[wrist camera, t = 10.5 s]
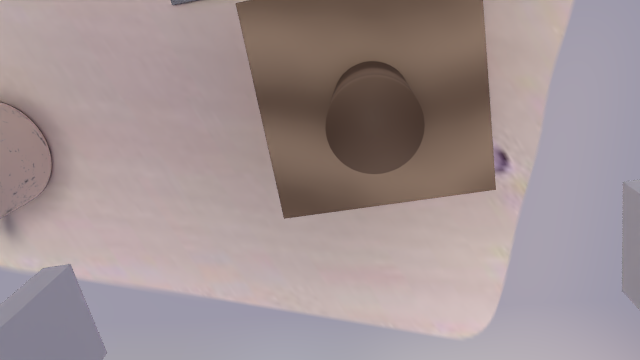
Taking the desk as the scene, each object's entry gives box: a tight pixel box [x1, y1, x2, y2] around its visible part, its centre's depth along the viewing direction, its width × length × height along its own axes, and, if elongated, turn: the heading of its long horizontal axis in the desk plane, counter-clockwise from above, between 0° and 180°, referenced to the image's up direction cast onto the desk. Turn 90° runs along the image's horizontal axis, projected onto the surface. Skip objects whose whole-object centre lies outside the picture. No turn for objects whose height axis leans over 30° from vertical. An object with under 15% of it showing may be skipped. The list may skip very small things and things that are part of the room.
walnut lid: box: [236, 0, 496, 219], centre depth 25 cm, size 13×13×8 cm
